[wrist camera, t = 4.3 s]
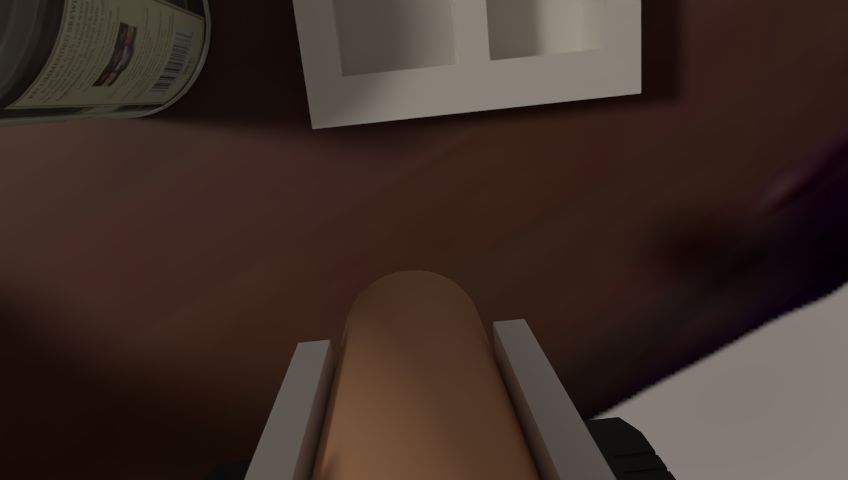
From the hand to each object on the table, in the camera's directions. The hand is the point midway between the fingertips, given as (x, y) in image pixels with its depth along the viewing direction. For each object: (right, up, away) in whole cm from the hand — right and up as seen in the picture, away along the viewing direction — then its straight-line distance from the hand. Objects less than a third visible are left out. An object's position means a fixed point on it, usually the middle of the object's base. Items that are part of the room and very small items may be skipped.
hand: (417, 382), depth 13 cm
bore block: (+2, +16, +16) cm, 22 cm away
